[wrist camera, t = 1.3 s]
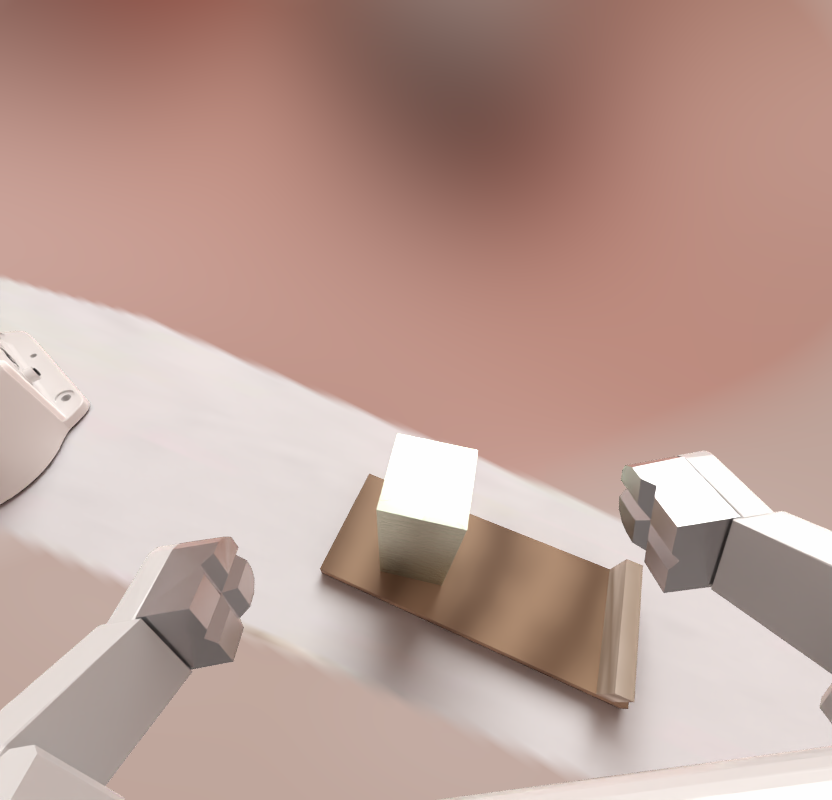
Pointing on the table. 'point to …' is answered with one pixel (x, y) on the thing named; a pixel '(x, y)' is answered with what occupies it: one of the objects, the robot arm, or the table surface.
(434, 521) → the tea tin
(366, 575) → the shelf board
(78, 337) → the table surface
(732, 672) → the table surface
